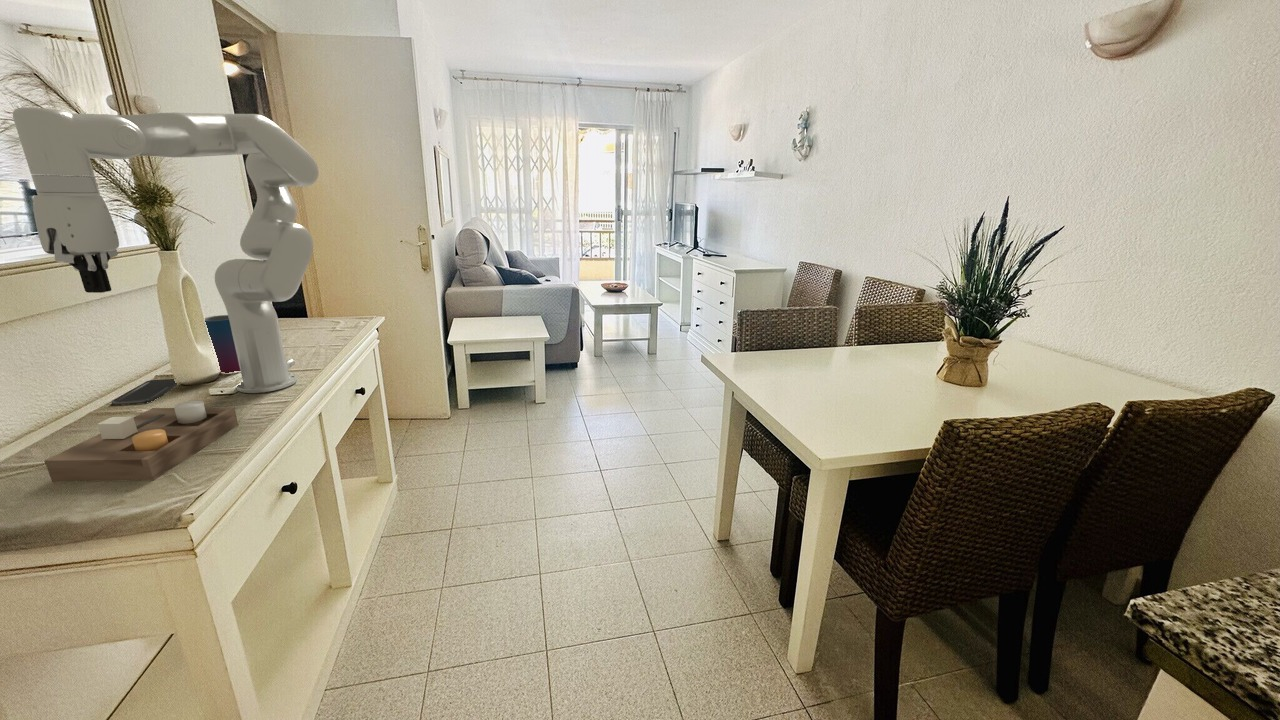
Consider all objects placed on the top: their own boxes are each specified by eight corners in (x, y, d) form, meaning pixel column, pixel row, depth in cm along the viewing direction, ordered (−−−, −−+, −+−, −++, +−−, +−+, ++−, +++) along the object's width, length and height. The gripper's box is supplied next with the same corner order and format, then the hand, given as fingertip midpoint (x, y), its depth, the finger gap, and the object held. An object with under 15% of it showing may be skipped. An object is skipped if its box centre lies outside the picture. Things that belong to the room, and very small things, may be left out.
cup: (243, 366, 144) (231, 313, 139) (250, 371, 140) (239, 317, 135) (212, 371, 139) (199, 317, 134) (219, 377, 135) (206, 322, 130)
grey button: (189, 414, 104) (185, 400, 103) (212, 414, 104) (208, 400, 103) (171, 423, 99) (167, 409, 99) (196, 423, 100) (192, 409, 99)
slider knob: (116, 431, 96) (112, 417, 95) (137, 431, 96) (133, 416, 95) (102, 439, 93) (97, 423, 92) (123, 438, 93) (118, 423, 92)
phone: (108, 402, 116) (148, 380, 130) (110, 407, 117) (149, 384, 130) (151, 399, 118) (185, 378, 132) (152, 404, 119) (186, 382, 132)
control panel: (157, 425, 108) (152, 407, 106) (238, 425, 109) (234, 407, 108) (52, 481, 87) (44, 460, 86) (153, 480, 88) (147, 458, 87)
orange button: (150, 444, 95) (145, 429, 94) (175, 443, 95) (171, 429, 94) (129, 455, 90) (124, 440, 90) (156, 455, 91) (151, 440, 90)
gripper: (84, 186, 96) (113, 284, 102) (-5, 186, 82) (34, 299, 88) (127, 188, 97) (153, 285, 102) (47, 187, 83) (82, 300, 88)
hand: (98, 291), depth 95 cm, fingers closed
